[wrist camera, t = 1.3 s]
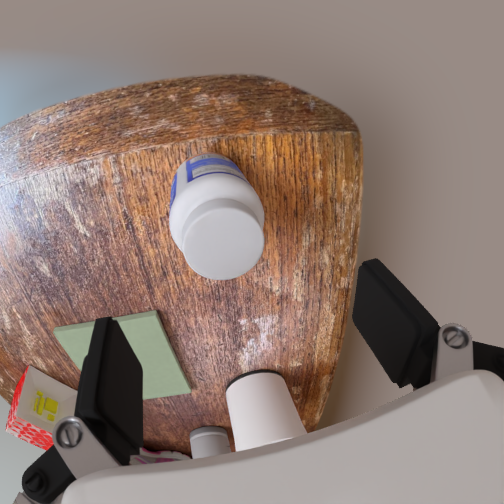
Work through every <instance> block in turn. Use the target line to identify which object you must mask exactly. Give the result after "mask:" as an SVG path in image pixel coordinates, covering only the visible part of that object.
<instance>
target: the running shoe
mask: <svg viewBox="0 0 504 504" xmlns="http://www.w3.org/2000/svg"><path fill="white" fill-rule="evenodd" d="M189 459H190V458H189V456H187V455H185V454H181V453H180V452H177V451H173V452H171V451H157V452H150V451H148V450H146V449H145V448H143V447H142V448H140V455H130V462H129V463H130V464H131V465H140V464H153V463H163V462H173V461H181V460H189Z"/></svg>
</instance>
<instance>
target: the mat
mask: <svg viewBox="0 0 504 504" xmlns="http://www.w3.org/2000/svg"><path fill="white" fill-rule="evenodd" d="M112 319H113V320H117V321H118V323H119V325H120V327H121V329H122V331H123V332H124V334H125V336H126V338H127V340H128V342H129V344H130V346H131V347H132V349H133V351H134V353H135V355H136V356H137V358H138V360H139V362H140V363H141V365H142V369H143V399H151V398H158V397H166V396H172V395H179V394H185V393H191V392H192V391H191V387H190V385H189V383H188V380H187V378H186V376H185V374H184V372H183V370H182V368H181V366H180V364H179V362H178V359H177V357H176V355H175V353H174V351H173V348H172V346H171V344H170V342H169V339H168V337H167V335H166V332H165V330H164V328H163V325H162V323H161V320H160V318H159V316H158V313H157V311H156V310H153V311H148V312H143V313H137V314H132V315H126V316H121V317H115V318H112ZM94 324H95V321H92V322H86V323H80V324H73V325H67V326H61V327H55V328H54V331H53V333H54V335H55V336H56V338H57V339H58V341H59V342H60V343H61V345H62V346H63V348H64V349H65V351H66V352H67V353H68V355H69V356H70V357H71V359H72V360H73V361H74V363H75V364H76V365H77V367H78V368H79V369H80V371H81V370H82V365H83V360H84V358H85V356H86V355H88V350H89V345H90V341H91V337H92V332H93V328H94Z"/></svg>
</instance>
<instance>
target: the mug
mask: <svg viewBox="0 0 504 504" xmlns="http://www.w3.org/2000/svg"><path fill="white" fill-rule="evenodd" d="M226 398H227V404H228V409H229V414H230V420H231V425H232V430H233V435H234V440H235V448H236V452H237V451H242V450H247V449H251V448H256V447H260V446H264V445H268V444H272V443H276V442H280V441H284V440H287V439H291V438H294V437H298V436H301V435H304V434H307V432H306V430H305V428H304V426H303V424H302V422H301V420H300V417H299V415H298V413H297V410H296V408H295V405H294V403H293V400H292V398H291V395H290V393H289V391H288V388H287V386H286V383H285V381H284V378H283V377H282V376H281V375H280V374H279V373H277V372H275V371H271V370H257V371H251V372H248V373H245V374H243V375H240V376H238V377H237V378H235V379H234V380H232V381H231V382H230V383H229V384H228V387H227V389H226Z"/></svg>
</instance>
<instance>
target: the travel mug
mask: <svg viewBox="0 0 504 504" xmlns="http://www.w3.org/2000/svg"><path fill="white" fill-rule="evenodd" d="M190 442H191V450H192V457H193V459H196V458H203V457H210V456H216V455H221V454H227V453H231V450H230V445H229V441H228V436H227V431H226V430H225V429H223V428H221V427H217V426H206V427H200V428H197V429H195V430H193V431H192V432H191V433H190Z"/></svg>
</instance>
